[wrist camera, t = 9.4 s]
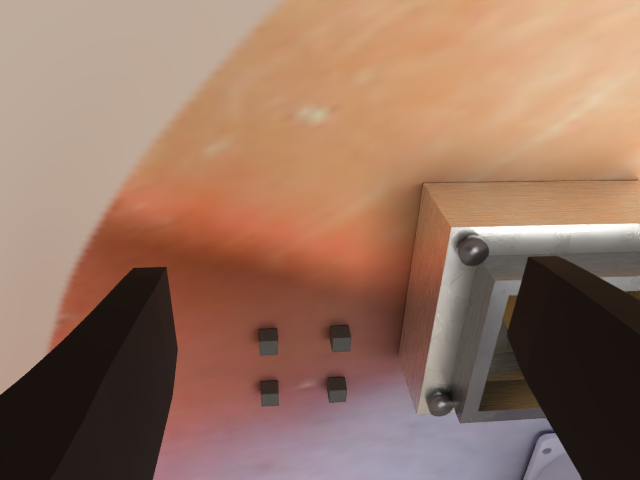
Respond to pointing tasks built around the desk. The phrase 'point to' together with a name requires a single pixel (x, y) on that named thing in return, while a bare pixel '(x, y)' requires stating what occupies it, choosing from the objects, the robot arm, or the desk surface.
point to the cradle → (336, 386)
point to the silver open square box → (500, 282)
